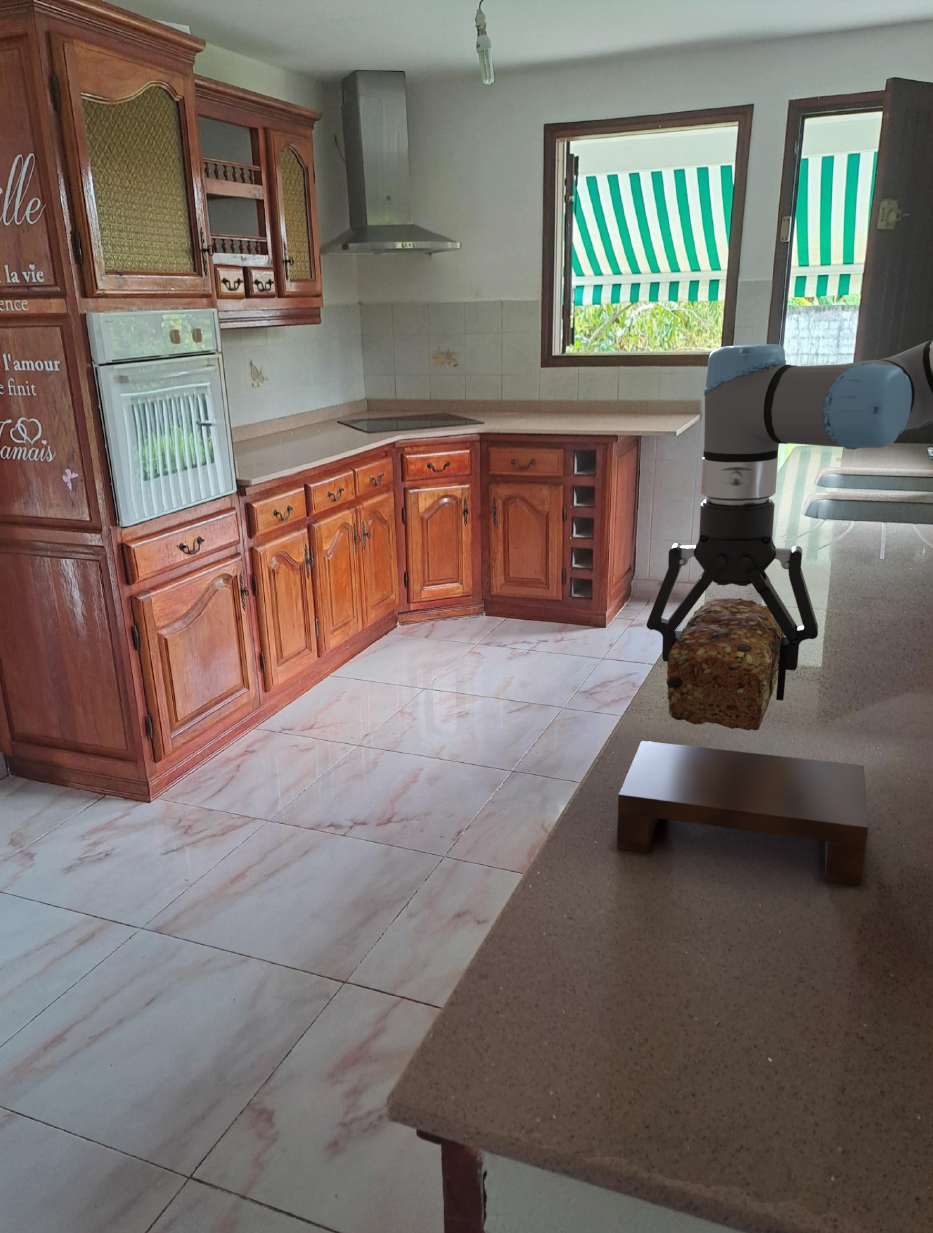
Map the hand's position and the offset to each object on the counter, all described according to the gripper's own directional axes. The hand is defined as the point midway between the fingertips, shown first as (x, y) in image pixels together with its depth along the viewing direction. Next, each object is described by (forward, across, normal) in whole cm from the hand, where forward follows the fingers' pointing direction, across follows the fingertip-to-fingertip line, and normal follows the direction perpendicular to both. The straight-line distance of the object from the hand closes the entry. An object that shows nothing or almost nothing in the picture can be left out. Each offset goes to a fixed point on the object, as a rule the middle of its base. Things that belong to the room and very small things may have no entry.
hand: (726, 691), depth 109 cm
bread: (+1, 0, 0) cm, 1 cm away
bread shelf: (+8, +3, -17) cm, 19 cm away
